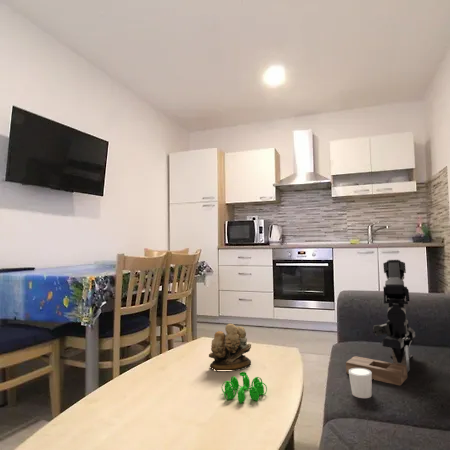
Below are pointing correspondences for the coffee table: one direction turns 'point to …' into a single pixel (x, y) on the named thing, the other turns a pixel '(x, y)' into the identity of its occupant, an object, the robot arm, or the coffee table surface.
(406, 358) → the bracket
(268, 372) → the coffee table surface
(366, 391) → the white cylinder
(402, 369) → the post board
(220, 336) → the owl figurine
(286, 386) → the coffee table surface
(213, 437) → the coffee table surface
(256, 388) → the chandelier
